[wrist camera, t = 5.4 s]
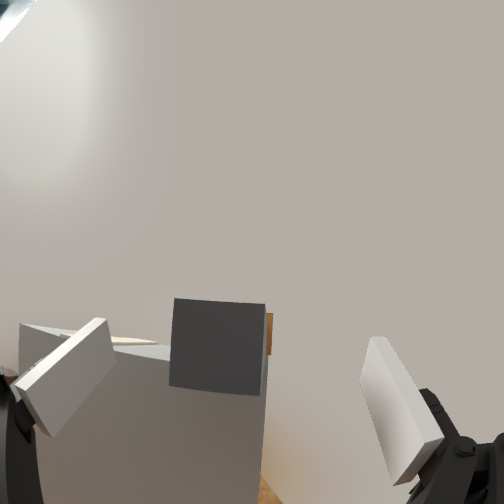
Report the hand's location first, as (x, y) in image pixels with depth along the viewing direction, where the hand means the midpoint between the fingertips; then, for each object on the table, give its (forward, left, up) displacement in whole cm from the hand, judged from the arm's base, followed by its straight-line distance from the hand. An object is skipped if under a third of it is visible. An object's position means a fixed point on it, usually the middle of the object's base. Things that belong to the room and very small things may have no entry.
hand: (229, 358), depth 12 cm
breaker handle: (-4, +10, -1) cm, 10 cm away
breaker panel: (-16, +11, -31) cm, 37 cm away
